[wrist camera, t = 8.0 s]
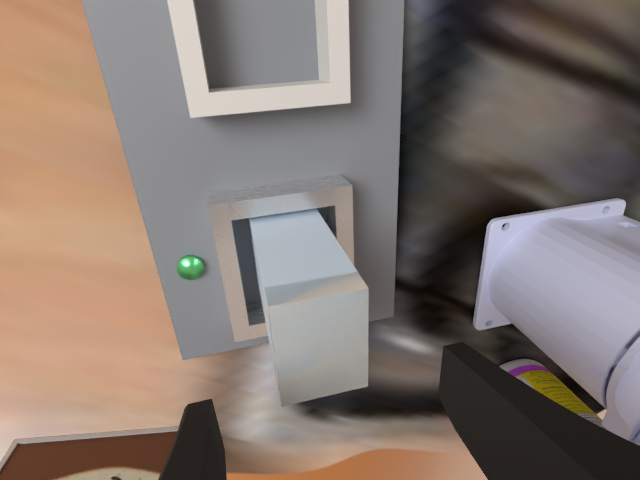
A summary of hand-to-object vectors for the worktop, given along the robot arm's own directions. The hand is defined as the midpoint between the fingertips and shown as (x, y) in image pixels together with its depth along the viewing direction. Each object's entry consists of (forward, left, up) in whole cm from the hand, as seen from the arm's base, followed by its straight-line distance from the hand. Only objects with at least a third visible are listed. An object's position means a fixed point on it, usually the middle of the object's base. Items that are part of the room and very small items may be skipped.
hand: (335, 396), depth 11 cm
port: (+1, 0, -9) cm, 9 cm away
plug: (0, -1, -9) cm, 9 cm away
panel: (0, -5, -10) cm, 12 cm away
